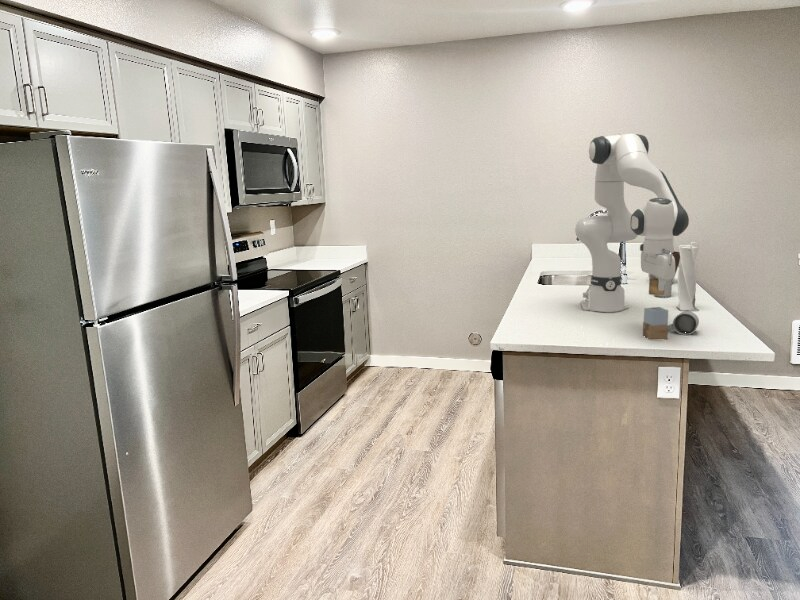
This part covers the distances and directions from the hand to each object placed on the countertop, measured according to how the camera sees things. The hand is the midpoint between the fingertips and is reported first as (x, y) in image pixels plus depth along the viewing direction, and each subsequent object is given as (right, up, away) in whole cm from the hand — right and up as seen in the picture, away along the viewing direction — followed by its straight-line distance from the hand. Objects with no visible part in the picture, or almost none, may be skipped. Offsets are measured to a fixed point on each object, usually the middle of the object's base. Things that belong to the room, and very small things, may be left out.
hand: (656, 288), depth 201 cm
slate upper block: (+1, -12, +2) cm, 12 cm away
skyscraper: (+31, -8, +43) cm, 54 cm away
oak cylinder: (0, -2, 0) cm, 2 cm away
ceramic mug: (+12, -15, +9) cm, 22 cm away
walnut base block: (+1, -17, +3) cm, 17 cm away
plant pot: (+49, +4, +105) cm, 116 cm away
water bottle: (+34, -2, +73) cm, 80 cm away
